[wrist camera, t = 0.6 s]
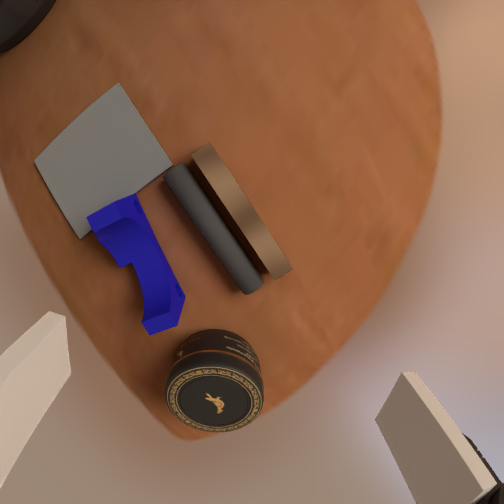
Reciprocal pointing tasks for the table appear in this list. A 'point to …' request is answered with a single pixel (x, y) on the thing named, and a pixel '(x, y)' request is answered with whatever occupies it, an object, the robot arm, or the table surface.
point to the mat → (101, 158)
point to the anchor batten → (241, 210)
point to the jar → (215, 382)
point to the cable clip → (140, 260)
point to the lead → (213, 228)
